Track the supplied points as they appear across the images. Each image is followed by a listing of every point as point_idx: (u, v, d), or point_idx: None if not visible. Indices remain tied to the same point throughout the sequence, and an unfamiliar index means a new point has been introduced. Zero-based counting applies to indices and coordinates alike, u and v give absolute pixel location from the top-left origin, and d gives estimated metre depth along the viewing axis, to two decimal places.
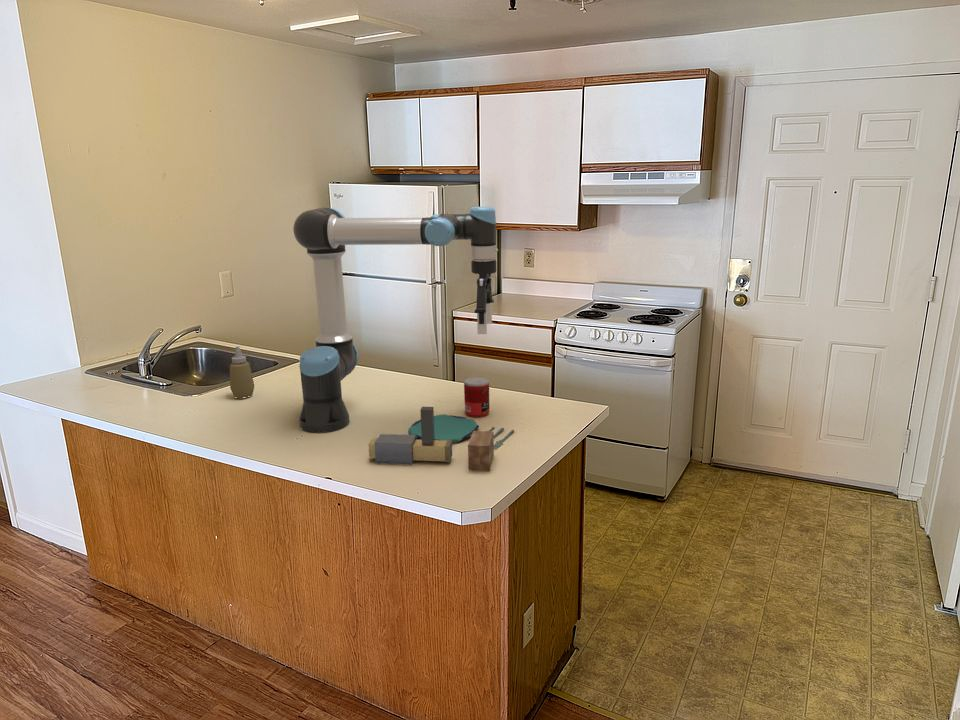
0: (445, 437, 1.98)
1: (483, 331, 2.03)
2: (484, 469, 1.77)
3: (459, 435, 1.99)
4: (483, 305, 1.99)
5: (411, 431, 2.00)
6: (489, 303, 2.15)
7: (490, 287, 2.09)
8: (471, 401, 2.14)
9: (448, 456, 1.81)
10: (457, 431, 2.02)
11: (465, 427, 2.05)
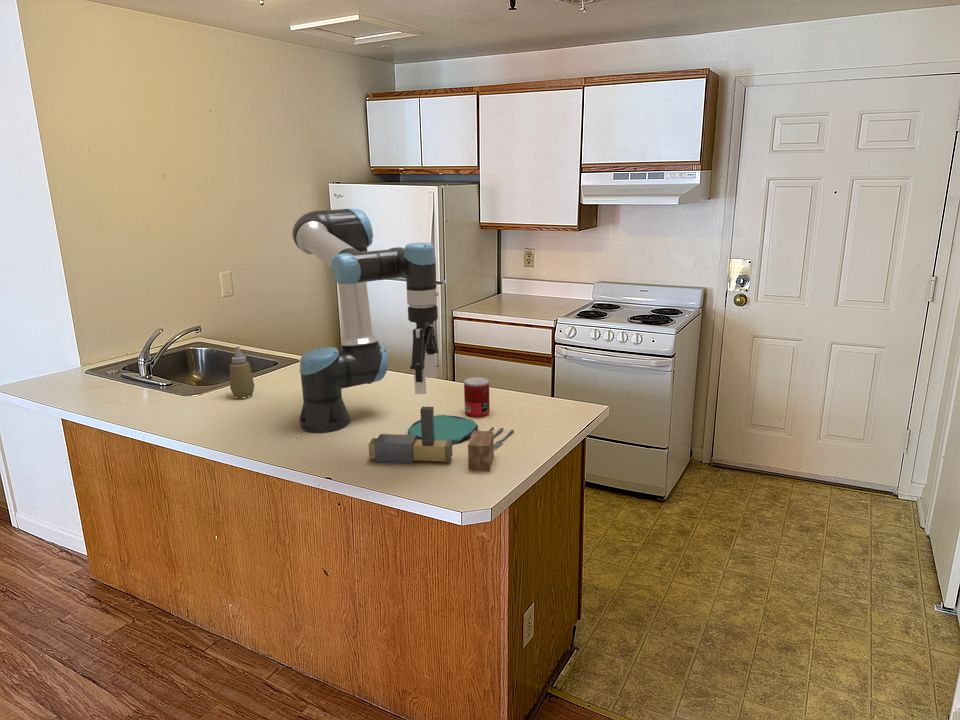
0: (445, 437, 1.98)
1: (421, 390, 1.71)
2: (484, 469, 1.77)
3: (459, 435, 1.99)
4: (420, 361, 1.67)
5: (410, 432, 2.00)
6: (433, 354, 1.83)
7: (432, 336, 1.77)
8: (471, 401, 2.14)
9: (448, 456, 1.81)
10: (456, 431, 2.02)
11: (464, 427, 2.05)
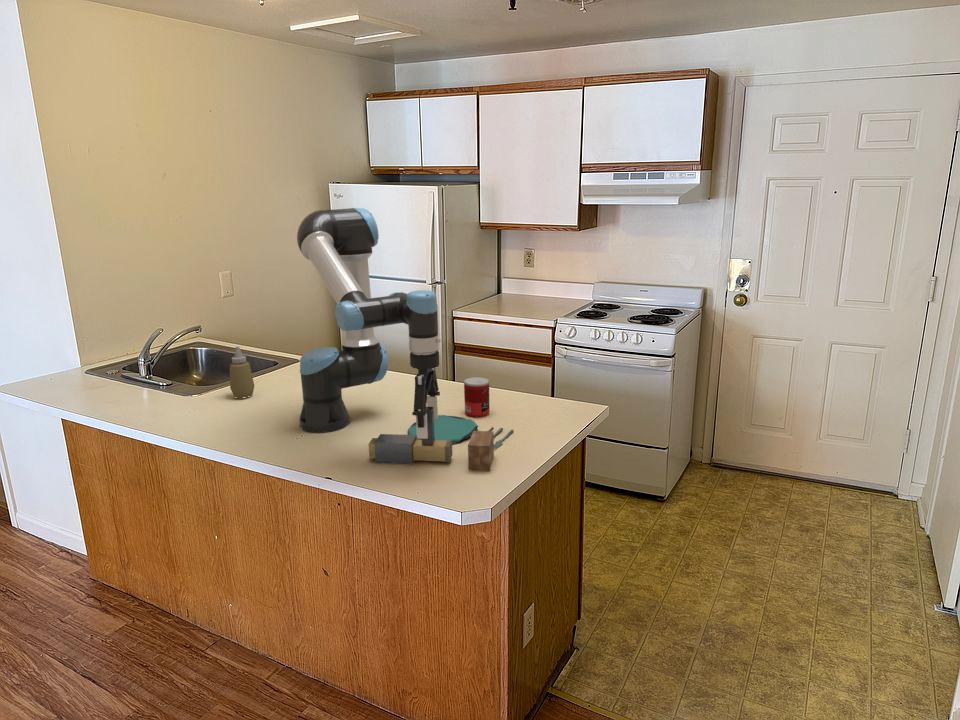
0: (444, 437, 1.98)
1: (423, 435, 1.75)
2: (484, 469, 1.77)
3: (458, 435, 1.99)
4: (421, 407, 1.70)
5: (410, 432, 2.00)
6: (434, 396, 1.86)
7: (433, 381, 1.81)
8: (471, 401, 2.14)
9: (448, 456, 1.81)
10: (456, 431, 2.02)
11: (464, 427, 2.05)
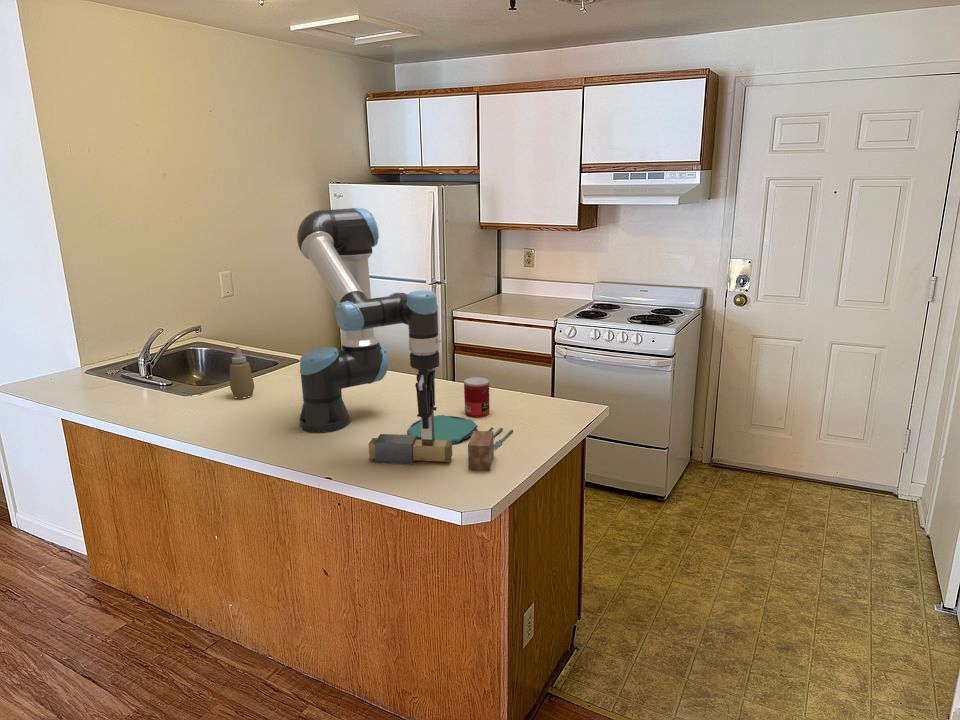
0: (444, 438, 1.97)
1: (428, 436, 1.80)
2: (484, 469, 1.77)
3: (458, 435, 1.99)
4: (426, 411, 1.75)
5: (410, 432, 2.00)
6: None
7: (432, 384, 1.79)
8: (471, 401, 2.14)
9: (448, 456, 1.81)
10: (456, 431, 2.02)
11: (463, 427, 2.05)
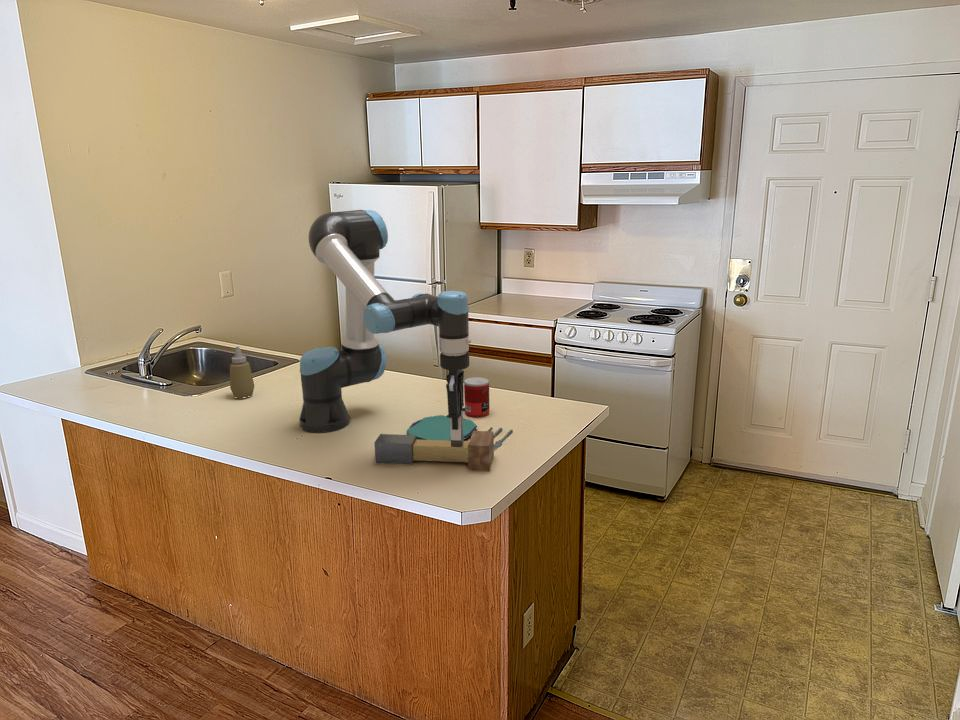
0: (444, 438, 1.97)
1: (457, 437, 1.79)
2: (484, 469, 1.77)
3: None
4: (456, 412, 1.74)
5: (409, 432, 1.99)
6: None
7: (462, 385, 1.78)
8: (471, 401, 2.14)
9: None
10: None
11: (463, 428, 2.05)
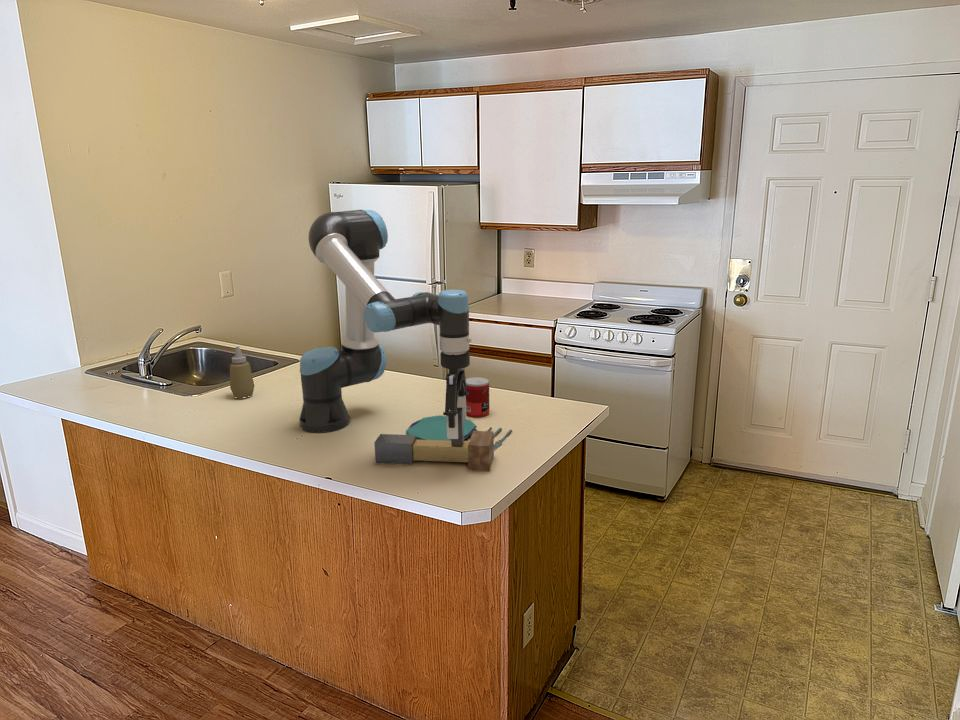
0: (444, 438, 1.97)
1: (454, 435, 1.74)
2: (484, 469, 1.77)
3: None
4: (453, 408, 1.69)
5: (409, 433, 1.99)
6: (463, 396, 1.85)
7: (463, 381, 1.80)
8: (471, 401, 2.14)
9: None
10: None
11: None
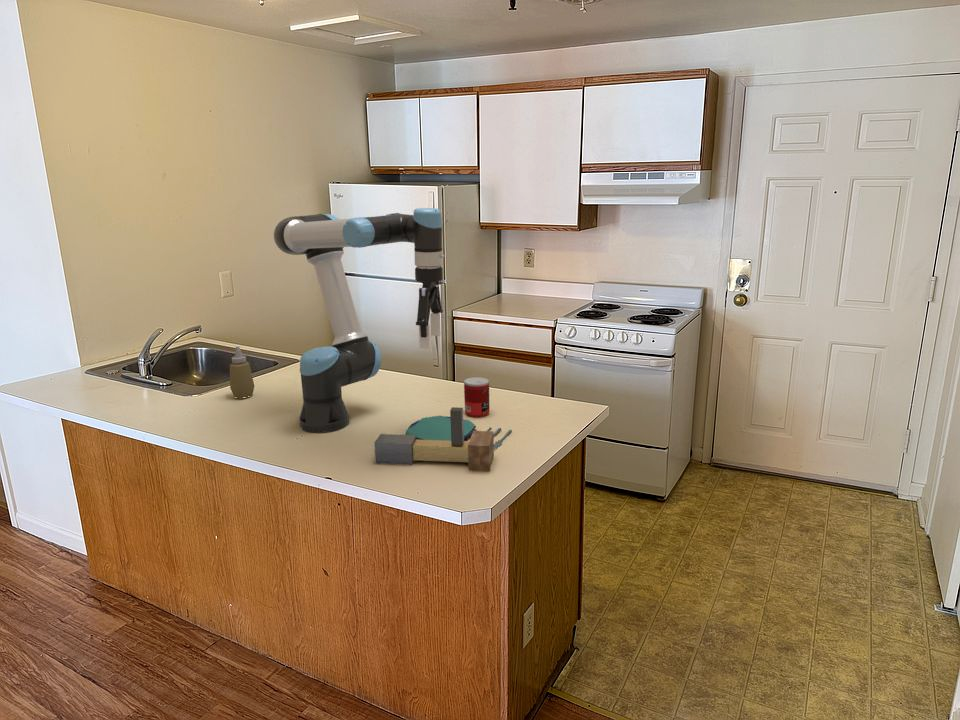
0: (443, 438, 1.97)
1: (425, 345, 1.85)
2: (484, 469, 1.77)
3: None
4: (424, 317, 1.80)
5: (409, 433, 1.99)
6: (437, 313, 1.97)
7: (437, 296, 1.91)
8: (471, 401, 2.14)
9: None
10: None
11: None
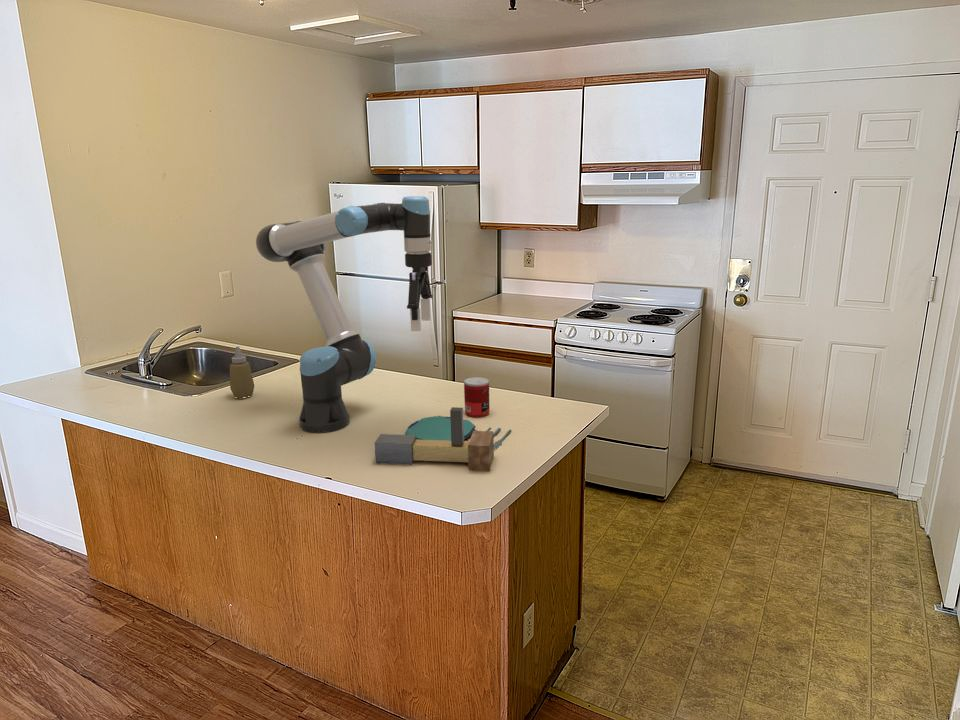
0: (443, 438, 1.97)
1: (417, 328, 1.92)
2: (484, 469, 1.77)
3: None
4: (415, 300, 1.88)
5: (408, 433, 1.99)
6: (427, 298, 2.04)
7: (426, 281, 1.98)
8: (471, 401, 2.14)
9: None
10: None
11: None
